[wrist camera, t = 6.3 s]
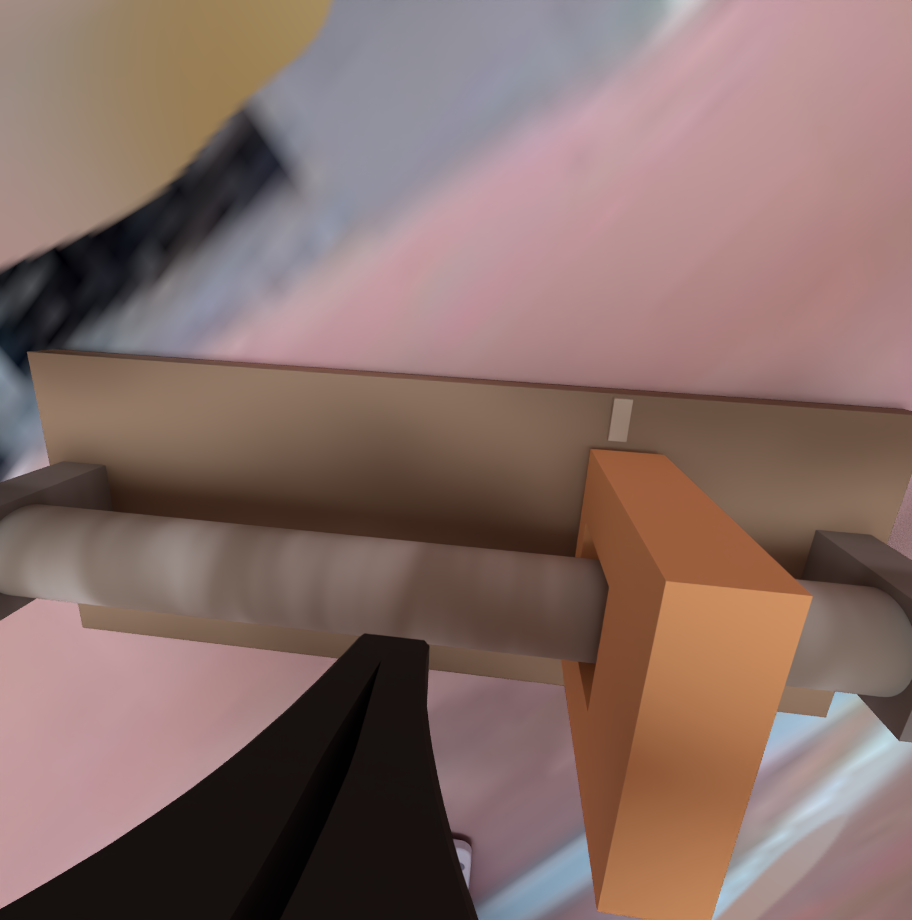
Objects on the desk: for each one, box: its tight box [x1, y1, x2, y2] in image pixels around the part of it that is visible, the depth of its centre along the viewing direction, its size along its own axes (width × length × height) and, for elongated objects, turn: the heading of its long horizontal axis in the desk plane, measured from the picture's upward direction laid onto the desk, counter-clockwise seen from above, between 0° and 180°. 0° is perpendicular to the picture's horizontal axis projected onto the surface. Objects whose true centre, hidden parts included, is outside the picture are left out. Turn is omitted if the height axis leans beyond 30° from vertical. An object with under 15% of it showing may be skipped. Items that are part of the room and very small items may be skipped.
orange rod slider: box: [561, 449, 813, 920], centre depth 11 cm, size 7×2×7 cm, turn 177°
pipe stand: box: [0, 349, 912, 742], centre depth 14 cm, size 10×26×6 cm, turn 87°
